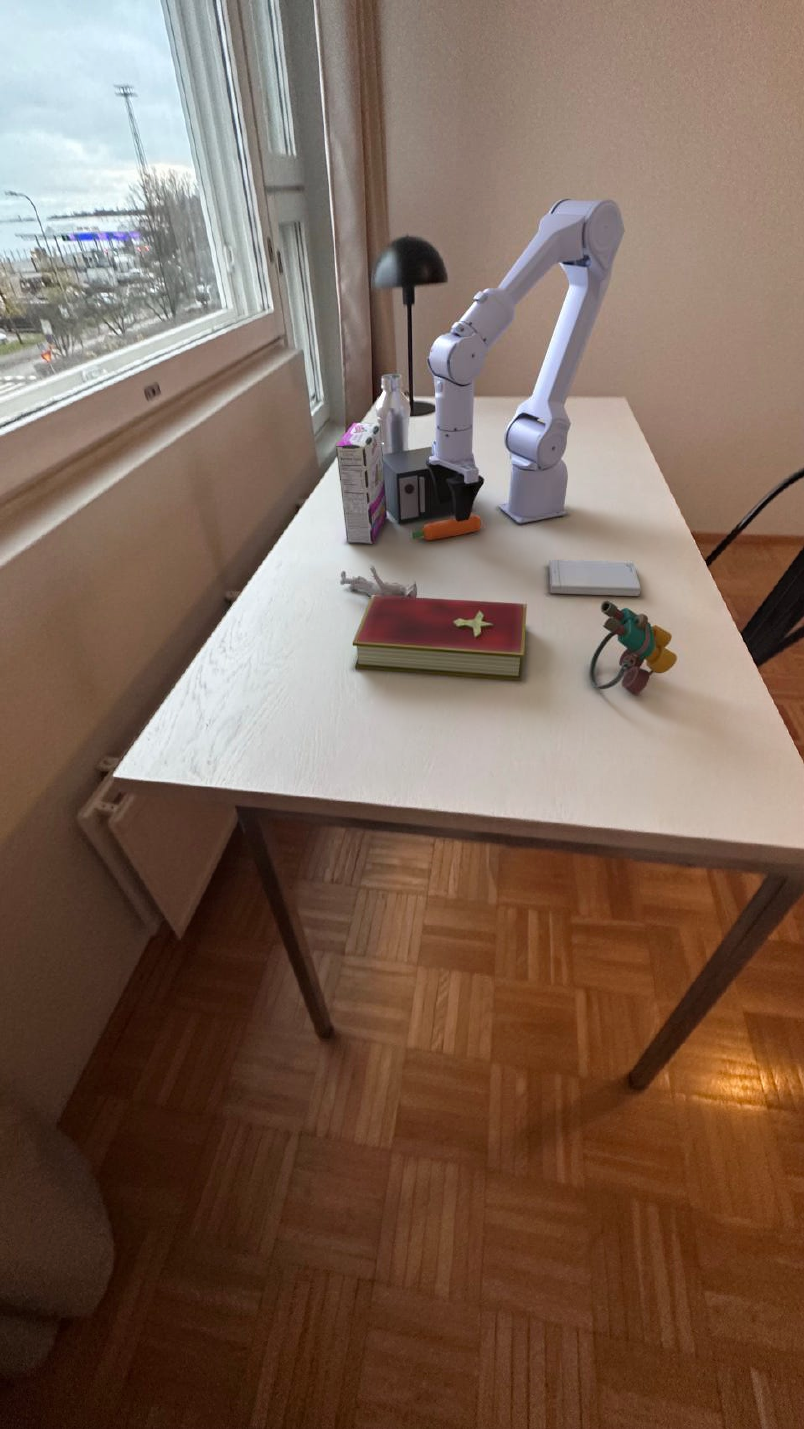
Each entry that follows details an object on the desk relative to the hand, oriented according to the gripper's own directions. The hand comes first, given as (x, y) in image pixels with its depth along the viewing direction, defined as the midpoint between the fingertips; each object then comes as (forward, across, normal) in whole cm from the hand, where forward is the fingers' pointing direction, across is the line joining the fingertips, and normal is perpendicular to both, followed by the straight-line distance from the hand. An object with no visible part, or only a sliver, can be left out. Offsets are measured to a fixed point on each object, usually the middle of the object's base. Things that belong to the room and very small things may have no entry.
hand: (453, 511), depth 106 cm
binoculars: (+4, +45, +4) cm, 45 cm away
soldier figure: (+4, +15, -18) cm, 24 cm away
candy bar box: (+4, -8, -13) cm, 16 cm away
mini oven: (+4, -13, 0) cm, 14 cm away
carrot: (+4, 0, 0) cm, 4 cm away
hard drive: (+5, +23, +13) cm, 27 cm away
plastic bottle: (+4, -24, -2) cm, 25 cm away
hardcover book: (+4, +30, -14) cm, 34 cm away
